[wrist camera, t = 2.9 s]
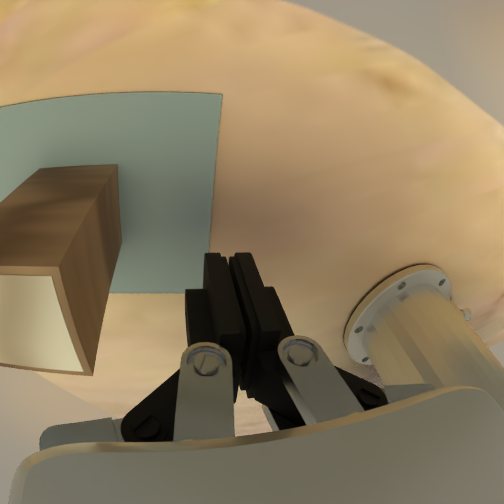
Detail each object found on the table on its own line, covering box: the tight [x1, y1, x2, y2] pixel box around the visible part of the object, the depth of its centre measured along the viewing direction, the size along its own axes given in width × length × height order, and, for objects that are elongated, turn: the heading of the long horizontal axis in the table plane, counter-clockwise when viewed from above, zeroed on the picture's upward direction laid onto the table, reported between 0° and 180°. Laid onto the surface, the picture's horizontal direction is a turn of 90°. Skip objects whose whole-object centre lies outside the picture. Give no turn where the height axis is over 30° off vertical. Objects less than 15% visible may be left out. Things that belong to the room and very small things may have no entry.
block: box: [0, 164, 122, 376], centre depth 12 cm, size 5×5×10 cm
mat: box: [0, 92, 222, 293], centre depth 16 cm, size 21×13×1 cm, turn 83°
